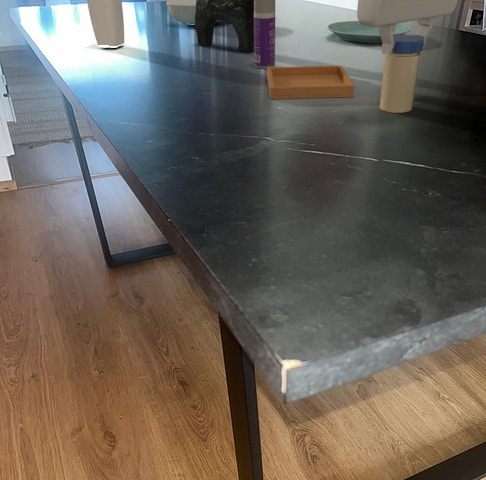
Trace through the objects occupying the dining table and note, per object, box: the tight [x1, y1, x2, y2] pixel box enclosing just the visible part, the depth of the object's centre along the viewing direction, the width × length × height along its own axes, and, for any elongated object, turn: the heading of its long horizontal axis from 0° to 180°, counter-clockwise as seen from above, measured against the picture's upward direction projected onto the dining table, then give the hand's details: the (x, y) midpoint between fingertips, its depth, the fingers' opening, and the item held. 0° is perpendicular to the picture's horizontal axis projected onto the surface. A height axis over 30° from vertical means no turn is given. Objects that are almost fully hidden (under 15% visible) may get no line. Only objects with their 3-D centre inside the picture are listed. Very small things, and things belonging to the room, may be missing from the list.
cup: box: [86, 0, 125, 46], centre depth 136 cm, size 7×7×15 cm
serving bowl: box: [165, 0, 222, 24], centre depth 165 cm, size 21×21×7 cm
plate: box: [326, 20, 412, 44], centre depth 142 cm, size 22×22×3 cm
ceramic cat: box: [194, 0, 254, 54], centre depth 130 cm, size 20×6×20 cm, turn 51°
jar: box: [378, 52, 421, 114], centre depth 90 cm, size 6×6×10 cm
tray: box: [266, 65, 355, 100], centre depth 104 cm, size 16×16×2 cm
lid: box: [393, 34, 424, 54], centre depth 87 cm, size 6×6×2 cm
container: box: [253, 0, 276, 70], centre depth 115 cm, size 5×5×15 cm
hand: (402, 50), depth 87 cm, fingers closed on lid, 6 cm apart
